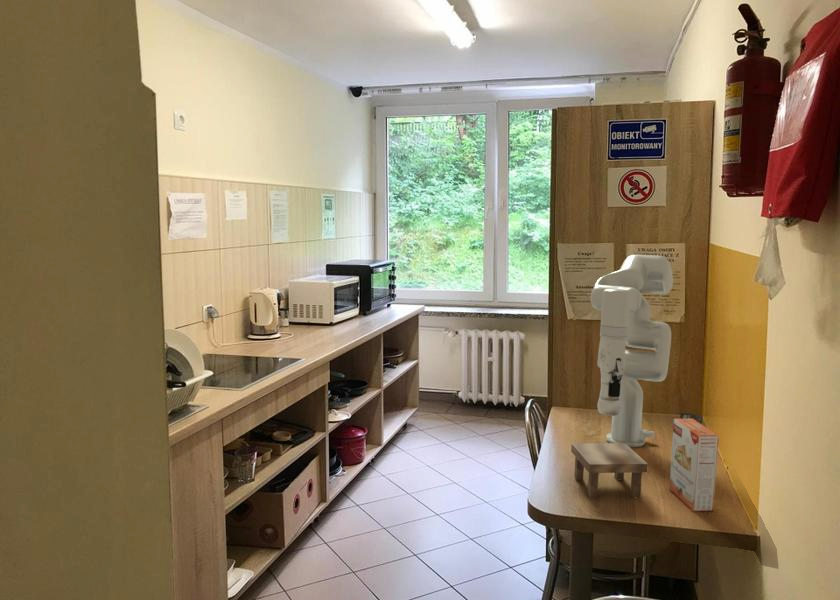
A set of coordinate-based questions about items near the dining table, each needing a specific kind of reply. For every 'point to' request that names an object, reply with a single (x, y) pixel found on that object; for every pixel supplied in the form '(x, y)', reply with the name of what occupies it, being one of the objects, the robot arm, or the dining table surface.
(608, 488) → the dining table surface
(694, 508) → the cracker box
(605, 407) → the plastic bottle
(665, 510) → the dining table surface
